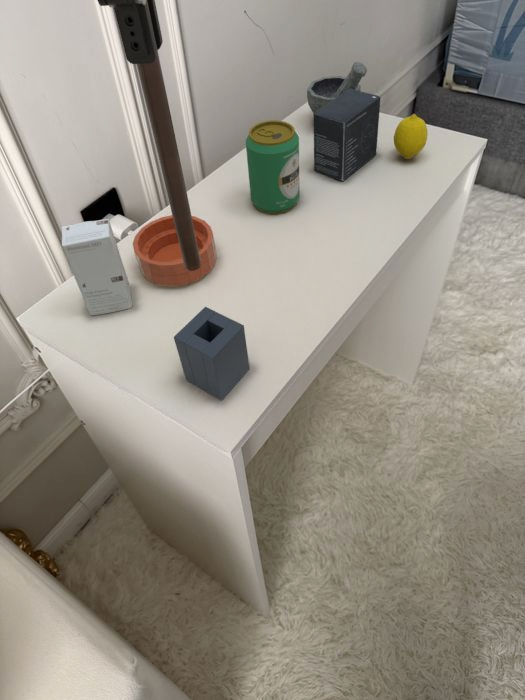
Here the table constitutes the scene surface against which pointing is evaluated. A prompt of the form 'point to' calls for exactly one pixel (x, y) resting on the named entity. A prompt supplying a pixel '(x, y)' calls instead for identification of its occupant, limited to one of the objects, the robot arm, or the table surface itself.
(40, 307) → the table surface
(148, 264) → the bowl
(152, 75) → the stick
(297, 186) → the beverage can
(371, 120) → the box
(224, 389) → the holder
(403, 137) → the fruit
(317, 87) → the mortar and pestle
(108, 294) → the cosmetic box
